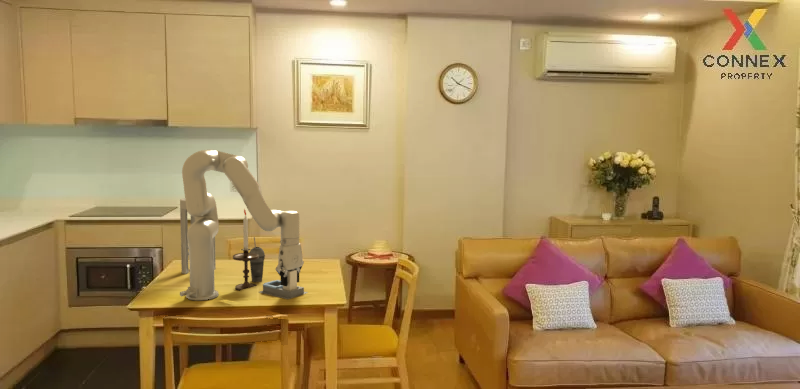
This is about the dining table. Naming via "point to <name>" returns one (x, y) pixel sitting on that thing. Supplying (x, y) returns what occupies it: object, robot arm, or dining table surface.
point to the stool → (184, 237)
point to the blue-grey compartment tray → (281, 290)
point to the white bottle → (291, 280)
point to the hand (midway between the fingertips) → (290, 283)
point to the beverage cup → (257, 264)
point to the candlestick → (245, 257)
